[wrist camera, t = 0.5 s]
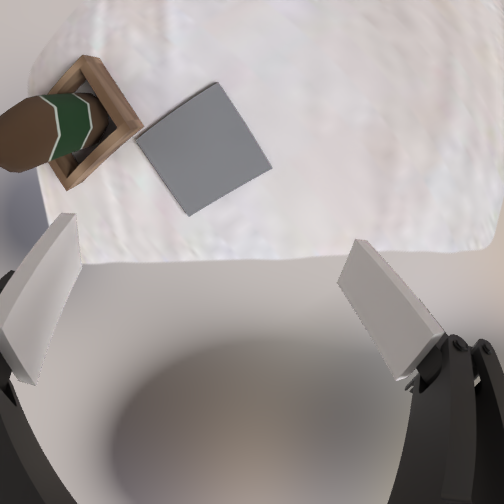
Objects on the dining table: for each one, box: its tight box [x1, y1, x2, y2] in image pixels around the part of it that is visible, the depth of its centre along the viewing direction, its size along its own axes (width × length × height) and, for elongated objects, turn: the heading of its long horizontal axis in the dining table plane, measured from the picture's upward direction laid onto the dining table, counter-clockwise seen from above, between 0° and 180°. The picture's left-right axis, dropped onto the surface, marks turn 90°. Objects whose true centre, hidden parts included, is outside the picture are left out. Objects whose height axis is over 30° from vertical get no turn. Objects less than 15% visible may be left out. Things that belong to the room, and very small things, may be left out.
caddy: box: [47, 55, 144, 191], centre depth 27 cm, size 12×12×4 cm
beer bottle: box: [0, 93, 109, 173], centre depth 18 cm, size 8×8×24 cm
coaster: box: [136, 83, 272, 216], centre depth 31 cm, size 12×12×1 cm
